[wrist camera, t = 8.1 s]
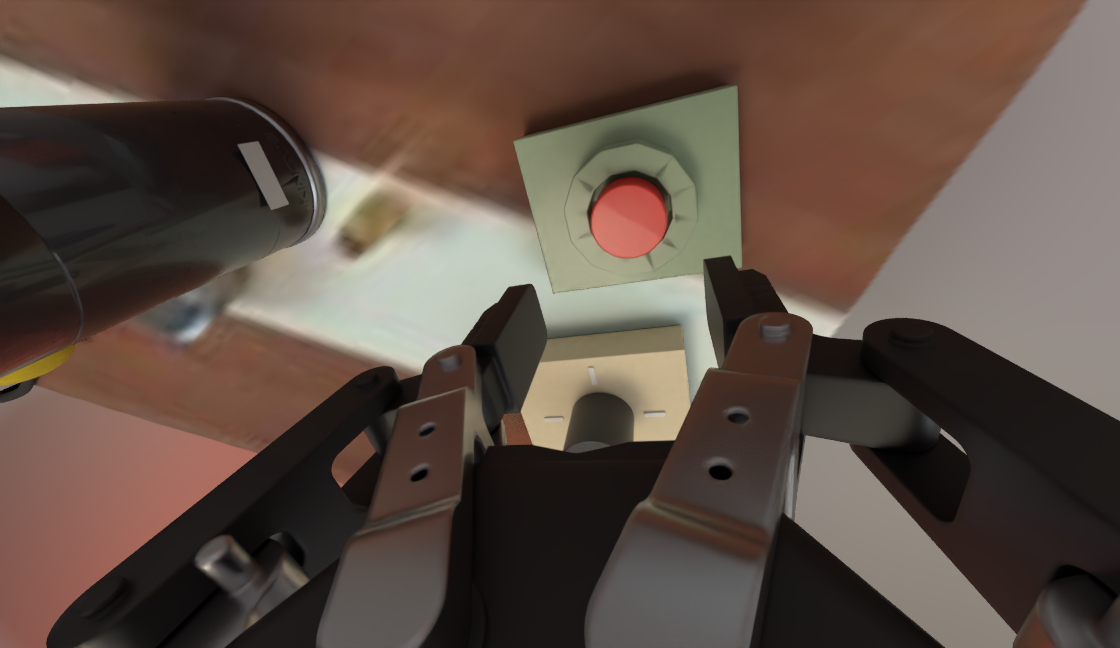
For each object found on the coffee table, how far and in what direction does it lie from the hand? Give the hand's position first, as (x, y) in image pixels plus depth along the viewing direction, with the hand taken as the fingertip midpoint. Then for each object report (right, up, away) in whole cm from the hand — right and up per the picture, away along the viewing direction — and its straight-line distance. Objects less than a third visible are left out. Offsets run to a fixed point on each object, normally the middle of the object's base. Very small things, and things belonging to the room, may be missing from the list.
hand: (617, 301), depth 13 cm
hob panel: (+2, -6, +19) cm, 20 cm away
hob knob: (+1, -7, +16) cm, 18 cm away
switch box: (+2, +7, +11) cm, 13 cm away
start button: (+2, +5, +8) cm, 10 cm away
